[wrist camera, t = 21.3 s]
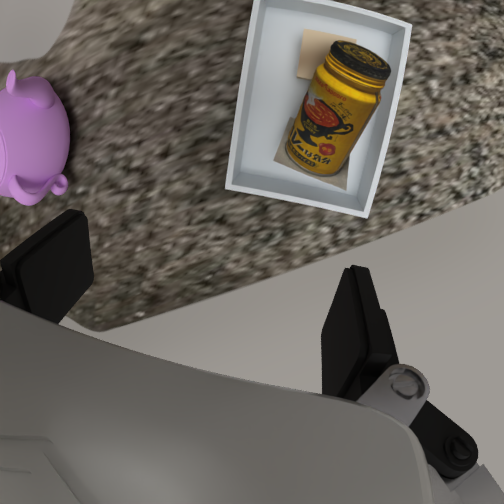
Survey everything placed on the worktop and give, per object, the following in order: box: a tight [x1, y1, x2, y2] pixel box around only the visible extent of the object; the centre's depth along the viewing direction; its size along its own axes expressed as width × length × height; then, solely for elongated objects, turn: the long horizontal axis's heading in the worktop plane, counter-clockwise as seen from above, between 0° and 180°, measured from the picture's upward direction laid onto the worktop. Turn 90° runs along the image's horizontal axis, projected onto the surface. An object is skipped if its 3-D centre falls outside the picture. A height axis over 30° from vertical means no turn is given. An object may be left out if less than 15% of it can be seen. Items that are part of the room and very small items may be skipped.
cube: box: [297, 29, 357, 81], centre depth 28 cm, size 5×5×5 cm
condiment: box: [273, 40, 391, 191], centre depth 26 cm, size 7×8×12 cm
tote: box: [225, 0, 412, 218], centre depth 30 cm, size 21×15×6 cm
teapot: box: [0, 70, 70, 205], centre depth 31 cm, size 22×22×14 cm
